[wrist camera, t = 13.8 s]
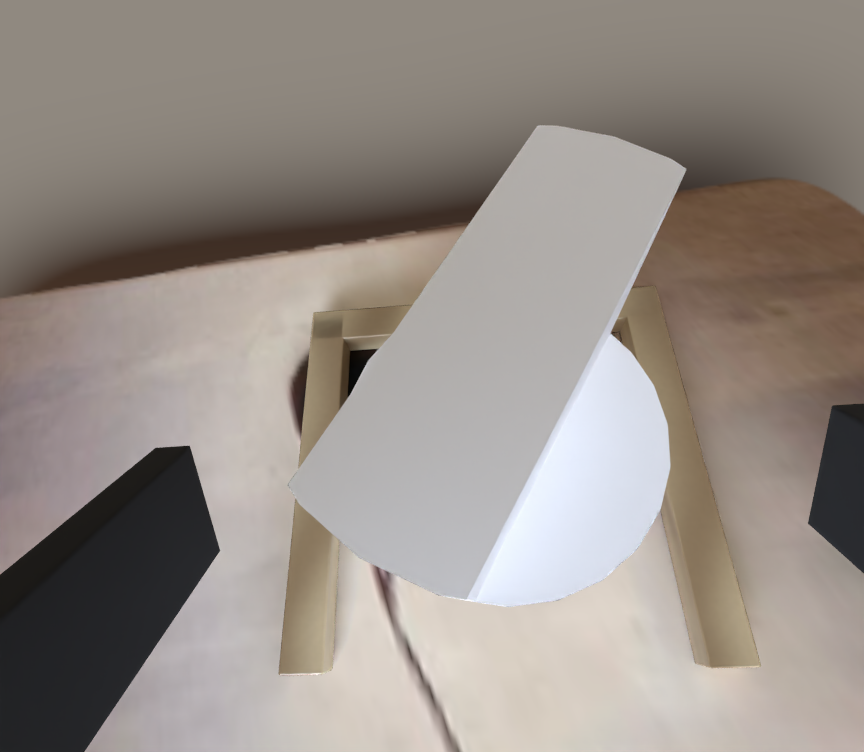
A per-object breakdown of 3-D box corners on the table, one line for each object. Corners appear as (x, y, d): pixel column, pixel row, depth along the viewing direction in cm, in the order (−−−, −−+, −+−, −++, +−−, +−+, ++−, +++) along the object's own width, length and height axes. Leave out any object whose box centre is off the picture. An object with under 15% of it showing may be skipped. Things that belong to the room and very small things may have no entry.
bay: (290, 671, 17) (277, 676, 16) (321, 325, 23) (312, 311, 22) (743, 663, 15) (762, 667, 14) (647, 301, 21) (655, 285, 20)
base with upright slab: (553, 661, 16) (696, 782, 5) (337, 522, 19) (136, 409, 8) (650, 435, 19) (872, 210, 8) (452, 342, 22) (420, 81, 11)
